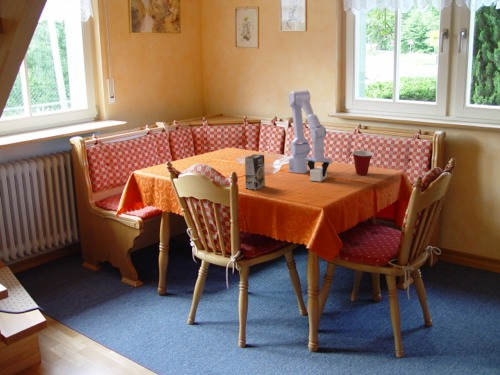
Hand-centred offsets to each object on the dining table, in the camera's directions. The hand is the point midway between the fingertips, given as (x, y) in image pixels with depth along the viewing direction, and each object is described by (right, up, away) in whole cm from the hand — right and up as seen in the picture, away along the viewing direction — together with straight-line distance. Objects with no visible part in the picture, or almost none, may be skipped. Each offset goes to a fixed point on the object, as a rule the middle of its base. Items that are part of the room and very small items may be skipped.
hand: (318, 175), depth 324 cm
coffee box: (-33, -6, -10) cm, 35 cm away
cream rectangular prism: (0, -2, +1) cm, 2 cm away
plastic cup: (+24, +1, +8) cm, 25 cm away
